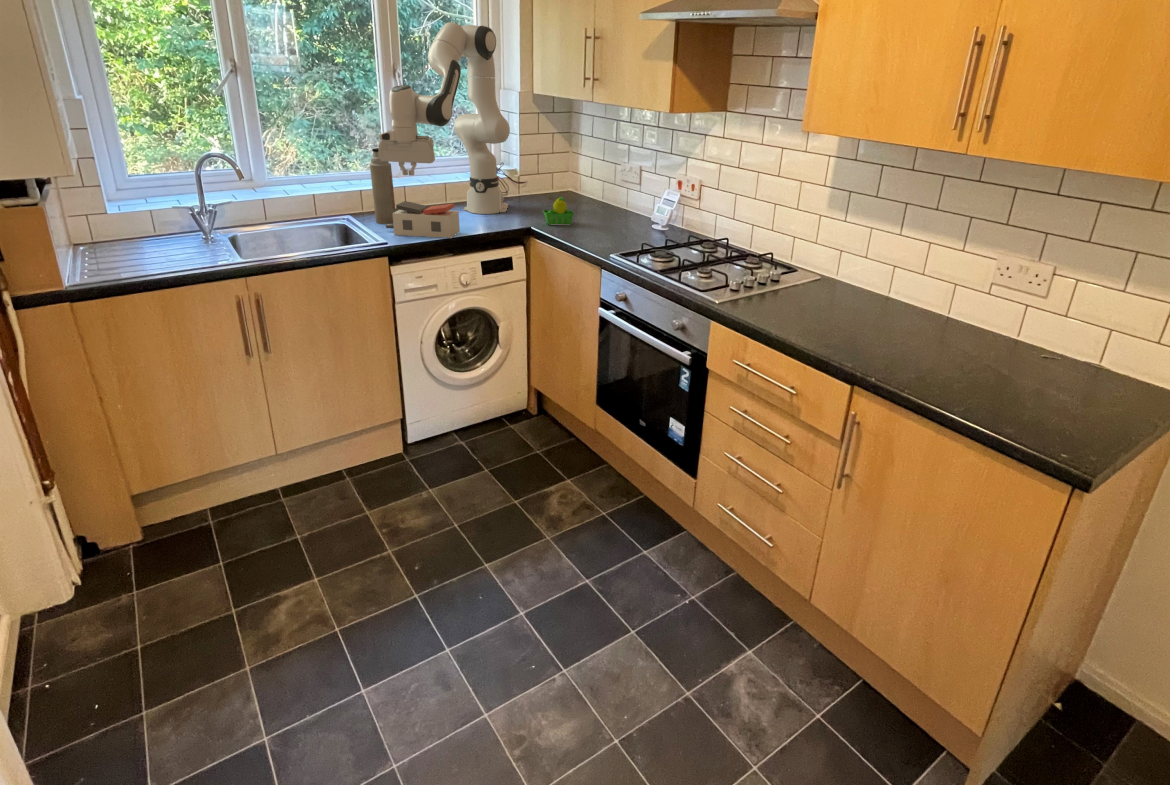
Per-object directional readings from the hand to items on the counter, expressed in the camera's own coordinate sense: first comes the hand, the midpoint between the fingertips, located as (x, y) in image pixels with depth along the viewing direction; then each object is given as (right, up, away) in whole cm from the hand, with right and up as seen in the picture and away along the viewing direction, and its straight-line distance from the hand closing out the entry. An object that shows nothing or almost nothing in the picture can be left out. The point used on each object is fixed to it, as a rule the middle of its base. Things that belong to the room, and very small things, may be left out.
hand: (408, 175), depth 260 cm
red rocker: (+11, -13, +4) cm, 17 cm away
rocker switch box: (+3, -19, +9) cm, 21 cm away
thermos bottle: (-15, -11, +25) cm, 31 cm away
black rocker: (0, -12, +6) cm, 13 cm away
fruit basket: (+54, -12, +26) cm, 61 cm away
